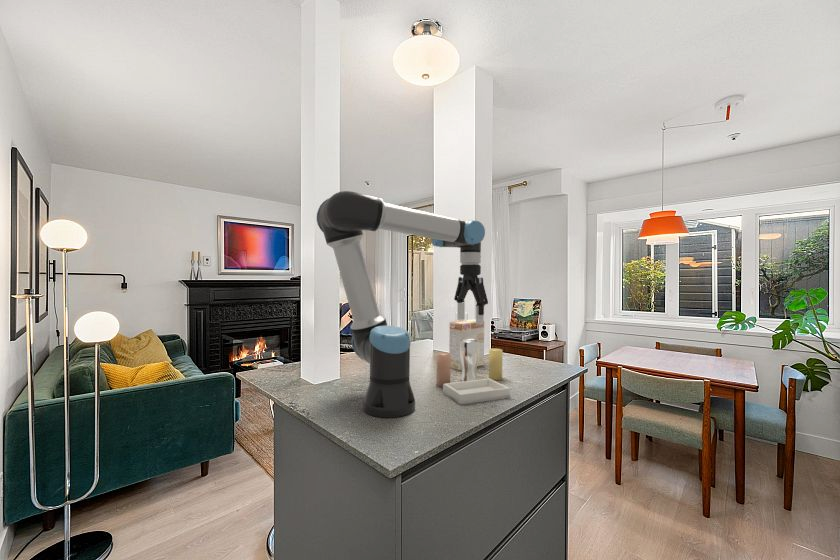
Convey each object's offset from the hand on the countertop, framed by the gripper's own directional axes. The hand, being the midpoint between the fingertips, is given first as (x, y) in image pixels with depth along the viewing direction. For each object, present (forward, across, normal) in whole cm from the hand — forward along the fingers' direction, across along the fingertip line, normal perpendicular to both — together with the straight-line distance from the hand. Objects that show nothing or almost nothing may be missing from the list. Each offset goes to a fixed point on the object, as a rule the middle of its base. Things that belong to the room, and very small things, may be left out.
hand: (469, 321), depth 137 cm
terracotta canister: (+22, -1, +11) cm, 25 cm away
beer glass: (+22, 0, 0) cm, 22 cm away
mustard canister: (+22, -1, -11) cm, 24 cm away
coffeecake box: (+22, +19, -10) cm, 31 cm away
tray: (+22, -15, +6) cm, 27 cm away
